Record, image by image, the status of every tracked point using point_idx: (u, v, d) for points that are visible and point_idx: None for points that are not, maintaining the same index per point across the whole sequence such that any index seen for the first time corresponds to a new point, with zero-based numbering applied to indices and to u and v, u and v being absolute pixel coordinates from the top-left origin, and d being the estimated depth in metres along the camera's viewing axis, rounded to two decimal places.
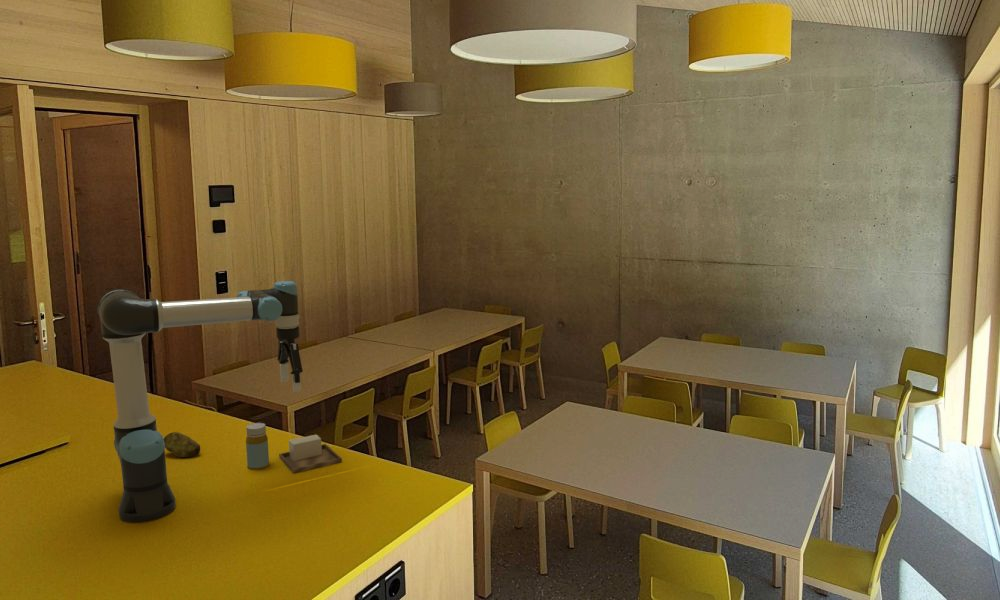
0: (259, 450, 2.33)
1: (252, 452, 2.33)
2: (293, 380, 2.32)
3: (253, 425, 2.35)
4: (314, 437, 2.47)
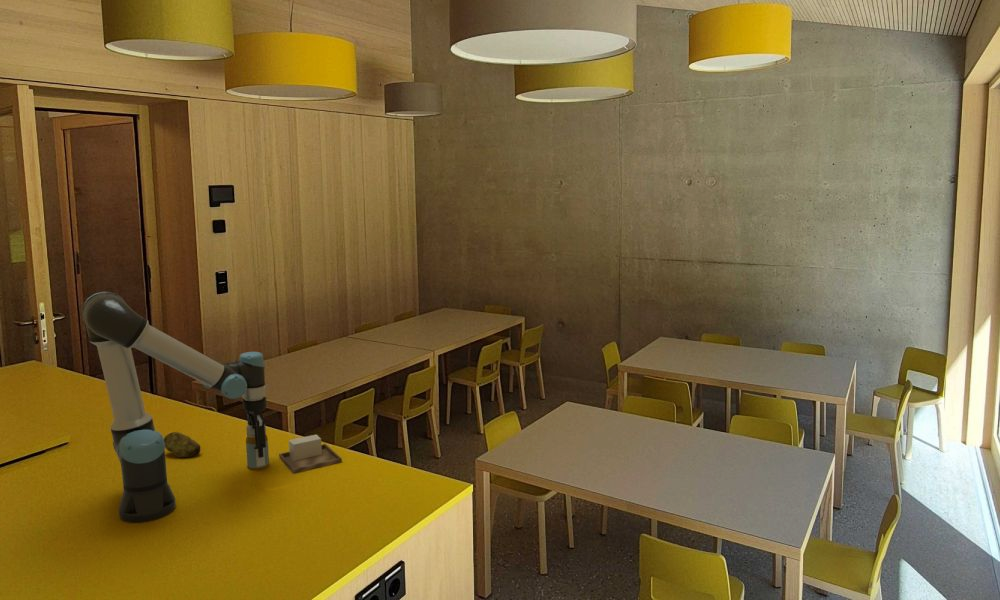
0: None
1: (252, 452, 2.33)
2: (257, 455, 2.33)
3: None
4: (314, 437, 2.47)
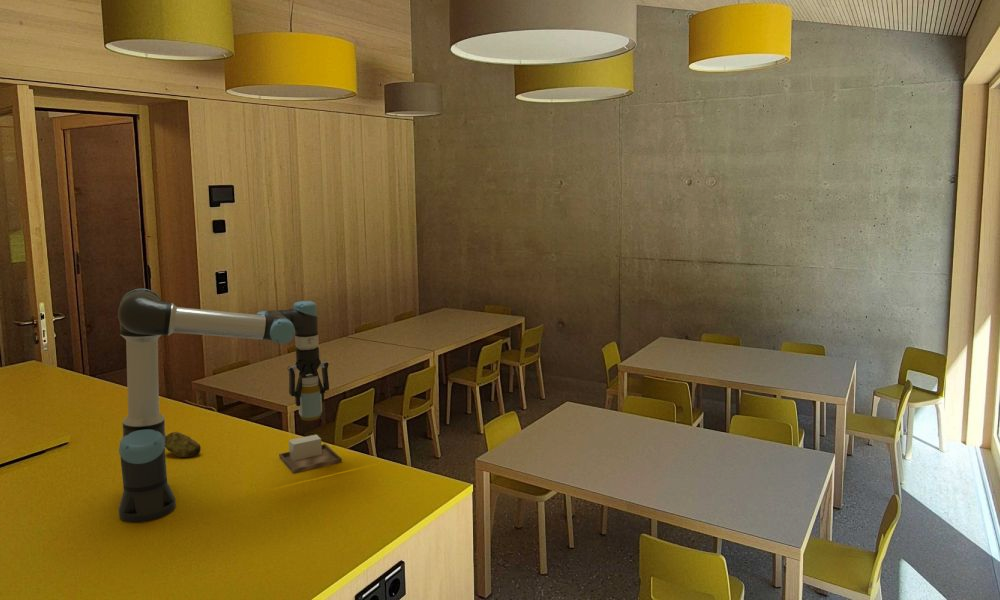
0: None
1: None
2: None
3: (311, 375, 2.35)
4: (314, 437, 2.47)
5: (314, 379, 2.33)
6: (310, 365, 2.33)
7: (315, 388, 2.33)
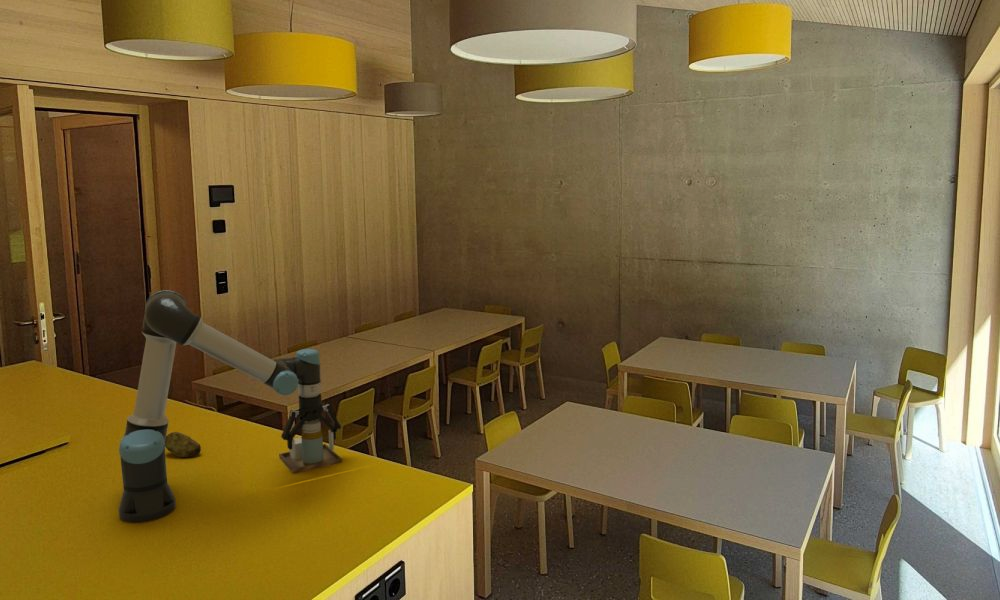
0: (302, 444, 2.37)
1: None
2: None
3: None
4: None
5: (317, 425, 2.35)
6: (313, 413, 2.36)
7: (317, 434, 2.36)
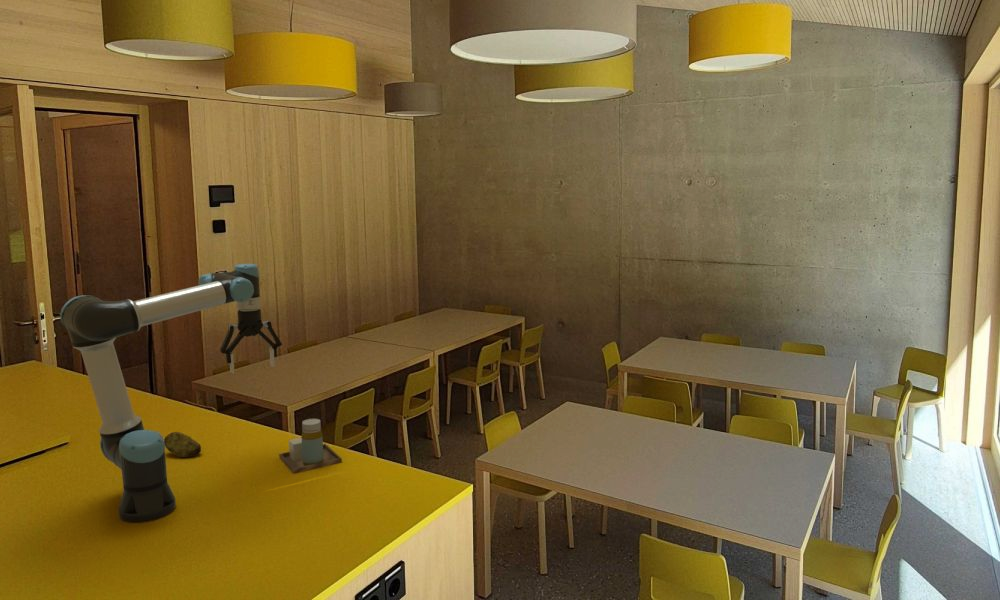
0: (302, 444, 2.37)
1: None
2: None
3: (314, 420, 2.38)
4: None
5: (317, 425, 2.35)
6: (252, 328, 2.36)
7: (317, 434, 2.36)
